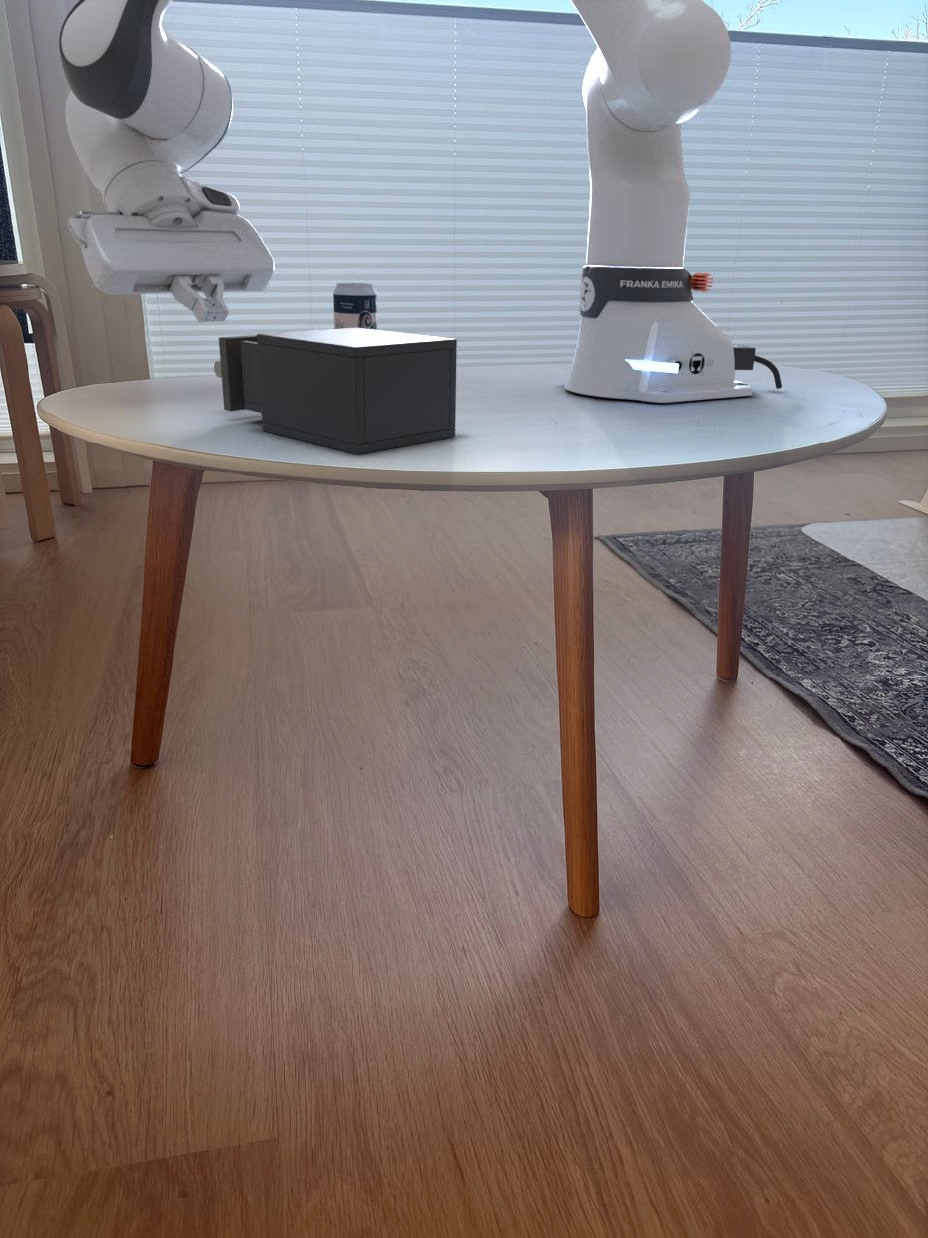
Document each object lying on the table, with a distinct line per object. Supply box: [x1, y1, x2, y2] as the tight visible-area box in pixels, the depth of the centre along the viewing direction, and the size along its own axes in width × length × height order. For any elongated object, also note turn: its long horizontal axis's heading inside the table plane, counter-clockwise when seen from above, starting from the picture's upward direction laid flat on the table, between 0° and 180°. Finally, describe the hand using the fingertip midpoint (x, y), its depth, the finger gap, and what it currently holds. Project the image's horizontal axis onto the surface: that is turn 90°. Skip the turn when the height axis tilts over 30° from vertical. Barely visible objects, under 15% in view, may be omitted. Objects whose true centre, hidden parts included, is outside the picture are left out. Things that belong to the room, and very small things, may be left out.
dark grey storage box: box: [256, 328, 458, 455], centre depth 84 cm, size 14×12×9 cm
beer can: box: [332, 282, 378, 330], centre depth 104 cm, size 5×5×12 cm
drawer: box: [213, 334, 262, 414], centre depth 90 cm, size 16×10×7 cm, turn 46°
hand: (214, 317), depth 96 cm, fingers closed
